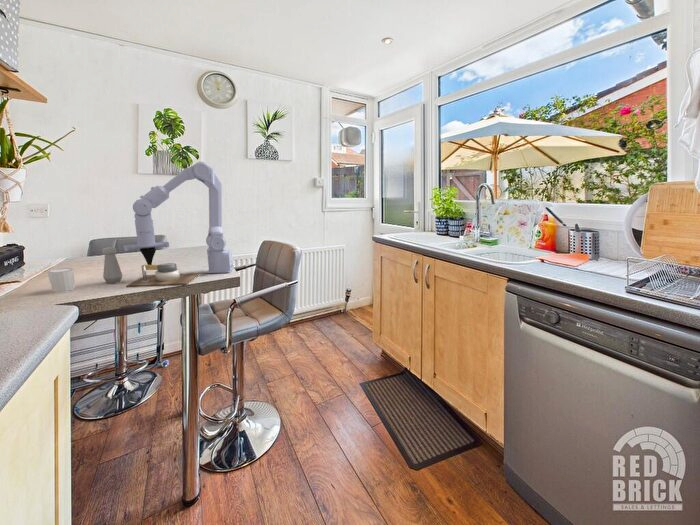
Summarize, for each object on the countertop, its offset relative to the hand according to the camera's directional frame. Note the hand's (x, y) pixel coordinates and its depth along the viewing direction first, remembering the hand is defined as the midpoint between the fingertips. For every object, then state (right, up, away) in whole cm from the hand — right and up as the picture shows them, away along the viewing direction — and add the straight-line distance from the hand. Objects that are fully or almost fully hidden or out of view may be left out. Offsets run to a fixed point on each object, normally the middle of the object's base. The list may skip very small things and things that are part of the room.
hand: (149, 267), depth 128 cm
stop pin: (+2, -6, -6) cm, 9 cm away
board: (+7, -5, -2) cm, 9 cm away
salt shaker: (-11, -6, -4) cm, 13 cm away
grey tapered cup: (-20, -8, -15) cm, 26 cm away
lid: (+5, -1, -2) cm, 6 cm away
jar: (+8, -5, -2) cm, 10 cm away
